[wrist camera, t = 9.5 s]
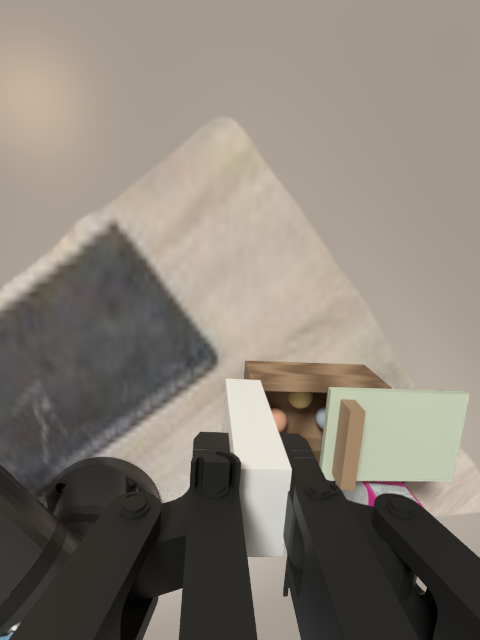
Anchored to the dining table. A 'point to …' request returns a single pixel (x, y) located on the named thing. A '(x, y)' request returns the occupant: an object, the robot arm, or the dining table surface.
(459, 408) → the lid
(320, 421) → the ball greyblue
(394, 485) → the supplement box
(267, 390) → the box
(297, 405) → the ball mustard
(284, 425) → the ball terracotta
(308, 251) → the dining table surface
